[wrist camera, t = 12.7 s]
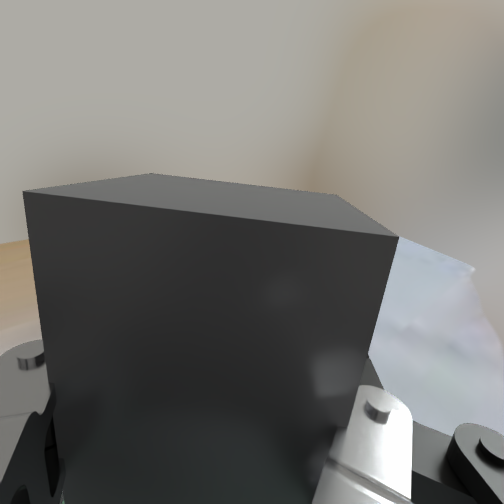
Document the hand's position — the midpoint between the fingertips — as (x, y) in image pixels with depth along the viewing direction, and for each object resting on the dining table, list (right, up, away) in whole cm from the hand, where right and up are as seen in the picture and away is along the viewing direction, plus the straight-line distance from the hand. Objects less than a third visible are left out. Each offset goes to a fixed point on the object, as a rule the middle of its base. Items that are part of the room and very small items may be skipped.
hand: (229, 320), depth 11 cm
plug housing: (-1, -8, 0) cm, 8 cm away
